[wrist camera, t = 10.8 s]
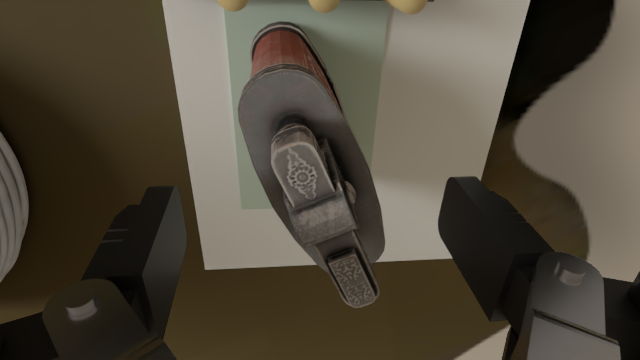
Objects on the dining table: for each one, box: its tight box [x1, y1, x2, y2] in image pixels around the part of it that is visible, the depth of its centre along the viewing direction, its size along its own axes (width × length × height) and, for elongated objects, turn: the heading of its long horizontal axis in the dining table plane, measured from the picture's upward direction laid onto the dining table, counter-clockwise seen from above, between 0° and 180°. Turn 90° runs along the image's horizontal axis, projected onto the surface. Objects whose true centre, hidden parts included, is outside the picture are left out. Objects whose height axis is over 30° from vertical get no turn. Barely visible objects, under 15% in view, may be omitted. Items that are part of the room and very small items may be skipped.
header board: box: [162, 0, 530, 270], centre depth 17 cm, size 16×22×8 cm
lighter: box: [238, 21, 385, 308], centre depth 15 cm, size 8×3×10 cm, turn 21°
